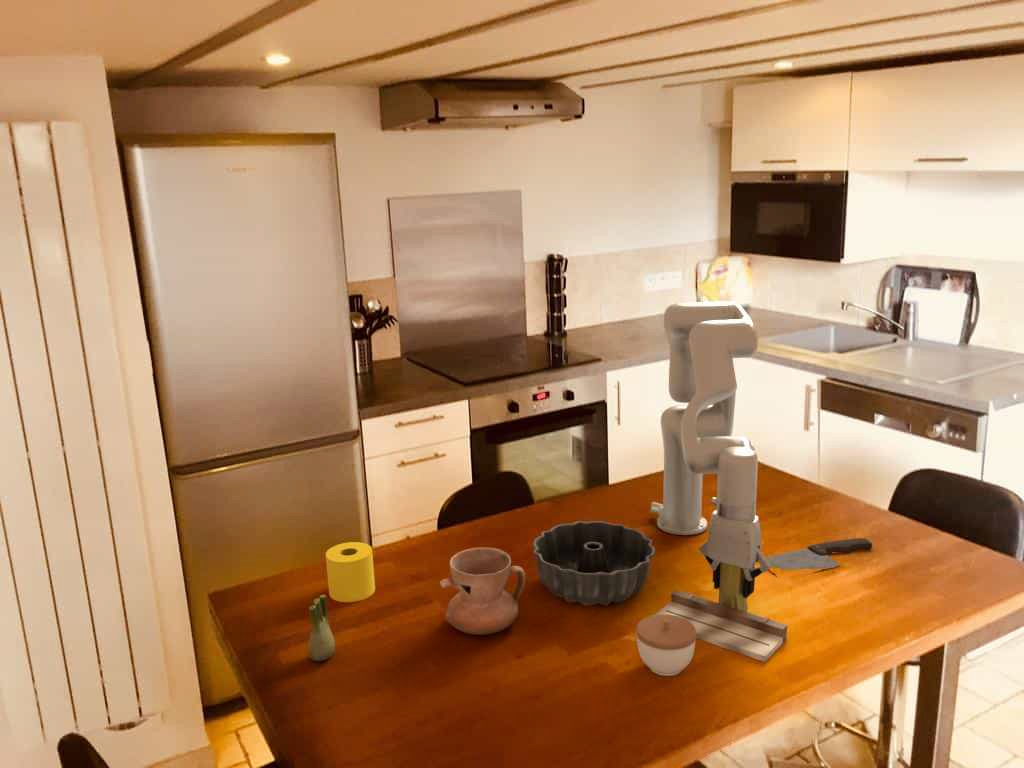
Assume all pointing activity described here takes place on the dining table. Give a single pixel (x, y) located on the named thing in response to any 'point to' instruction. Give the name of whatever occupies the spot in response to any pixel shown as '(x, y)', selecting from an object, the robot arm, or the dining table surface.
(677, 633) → the lidded jar
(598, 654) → the dining table surface
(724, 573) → the vase
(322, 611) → the fennel bulb
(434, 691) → the dining table surface
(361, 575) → the toilet paper roll
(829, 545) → the cleaver
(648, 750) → the dining table surface
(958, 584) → the dining table surface
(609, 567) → the bundt pan
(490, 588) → the ceramic jug
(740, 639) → the fence board
